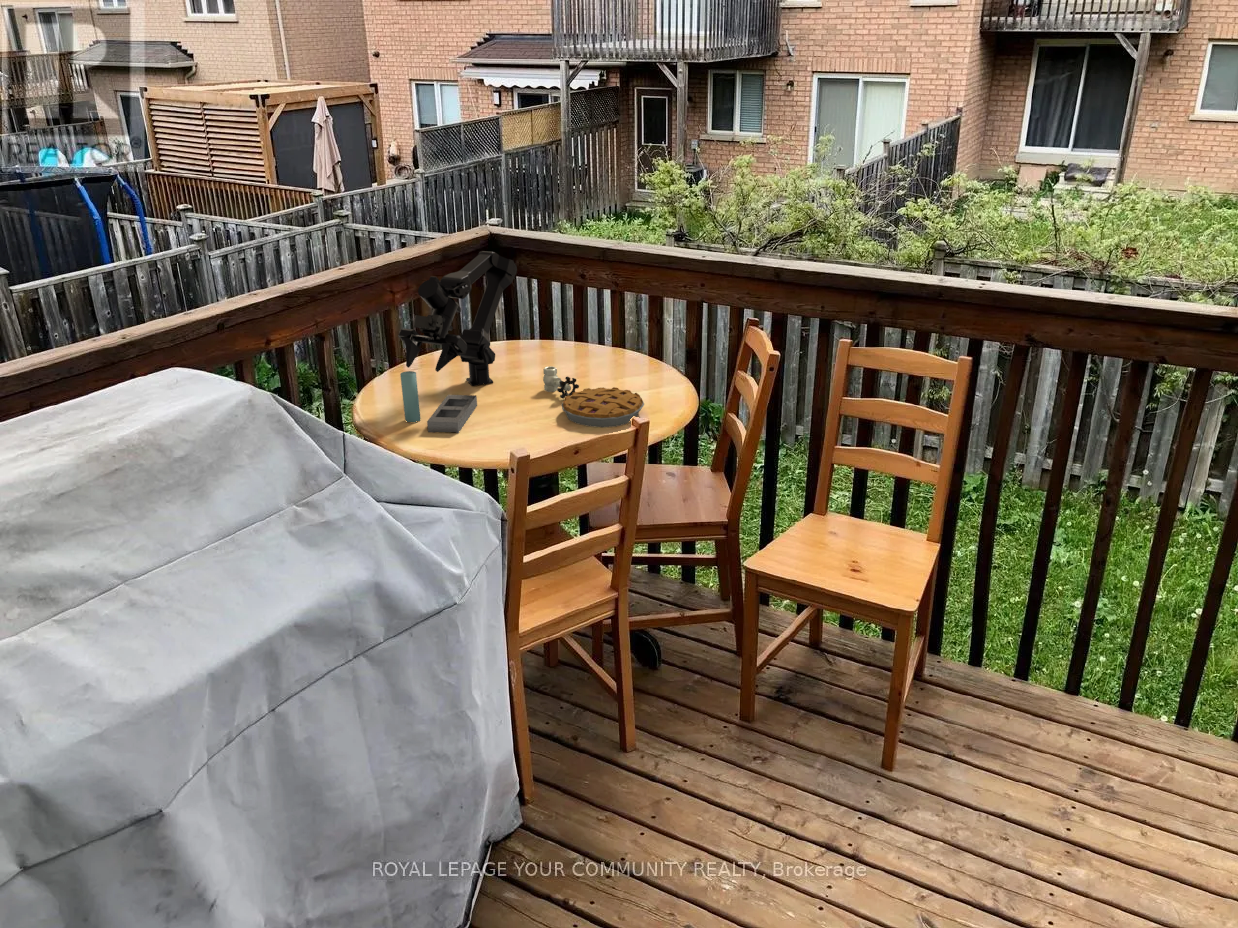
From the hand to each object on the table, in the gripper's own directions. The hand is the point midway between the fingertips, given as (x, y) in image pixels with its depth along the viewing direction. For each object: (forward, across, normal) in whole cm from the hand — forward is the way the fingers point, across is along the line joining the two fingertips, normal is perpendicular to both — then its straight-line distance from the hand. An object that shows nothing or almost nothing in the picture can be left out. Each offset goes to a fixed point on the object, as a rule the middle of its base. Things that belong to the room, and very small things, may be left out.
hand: (421, 369), depth 264 cm
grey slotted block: (+9, +9, +8) cm, 16 cm away
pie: (-3, +45, +21) cm, 49 cm away
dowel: (+13, 0, +4) cm, 14 cm away
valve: (-10, +26, +28) cm, 40 cm away
